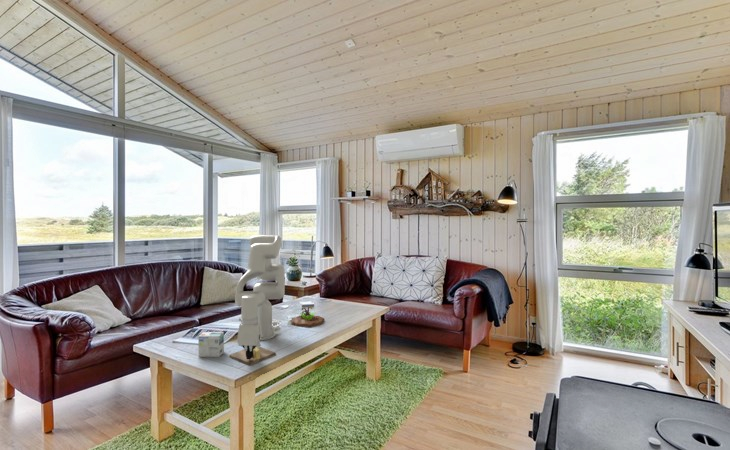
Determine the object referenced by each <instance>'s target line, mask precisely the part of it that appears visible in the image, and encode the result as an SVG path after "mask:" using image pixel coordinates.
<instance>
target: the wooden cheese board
mask: <svg viewBox="0 0 730 450" xmlns="http://www.w3.org/2000/svg"><path fill="white" fill-rule="evenodd" d="M249 347H250V346H249ZM259 350H260V359H257V360H255V358H254V357H252V358H251V359H247V357H246V351H245V349H244V348H243V349H241V350H238V351H236V352H235V351H234V352H233V353H230V354H229V358H231V359H234V360H236V361H238V362H240V363H242V362H243V364H245V365H247V366H251V364H252V365H253V364H256V363H259V362H261V361H265V360H267V359H269V358H271V357H274V356H276V353H277V352H276V351H273V350H270V349H267V348H264V347H261V346H260V347H259Z"/></svg>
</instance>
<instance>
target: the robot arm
mask: <svg viewBox="0 0 730 450" xmlns="http://www.w3.org/2000/svg"><path fill="white" fill-rule="evenodd" d="M282 242H283V241H282V237H281V235H278V234H253V235H251V236H250V237H249V244H250V247H249V248H250V249H249V255H248V256H249V257H248V263H247V271H246V272H245V273H244V274H243V275H242V276H241V277H240V279H239V280H238V282H237V284H236V286H235V287H236V288H235V294H234V295H235V296H234V302H235V306H237V307H240V308H241V309H240V310H241V313H240V316H241V317H239V318H238V321H239V322H240V323H239V325H238V326H239V327H238V331H237V345H238V346H239V347H242V348H243V350H244V349H245V351H246V357H247V359H251V358H252V357H253V349H254V348H257V347H261V341H267V340H270V339H273V338H274V337H275V336H276V335H275V331H277V330H279V326H273V305H272V303H271V302H270V301H269V300H281V299H283V298H284V296H285V293H286V292H285V288H286V286H285V285H286V283H285V282H286V281H285V279H286V277H285V267H284V265H283V264H281V263H272V260H274V259H277V258H278V256H279V253H280V251H281V247H282ZM255 278H256V279H258V280H259V281H261V282H258V283H255V284H254V286H253V288H252V289H253V290H252V291H251V290H250V291H249V290H247V291H244V287H245V286H246V284H247V283H248V282H249V281H251V280H254V279H255ZM263 281H264V282H263ZM265 281H267V282H265ZM269 281H275V282H269ZM249 346H250V347H249Z"/></svg>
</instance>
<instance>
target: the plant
mask: <svg viewBox="0 0 730 450" xmlns="http://www.w3.org/2000/svg"><path fill="white" fill-rule="evenodd" d="M310 310H313V306H311V305H309V306H308V308H307V309H306V308H305V307H302V308H301V313H300V315H297V316H296V317H294V318H292V319H291V325H292V326H296V327H298V328H299V327H301V328H313V327H318V326H321V325H323V323H324V322H325V318H324V317H322V316H320V315H315V314H316V312H313V313H312V312H311V311H310Z"/></svg>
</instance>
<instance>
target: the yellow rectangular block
mask: <svg viewBox="0 0 730 450" xmlns="http://www.w3.org/2000/svg"><path fill="white" fill-rule="evenodd" d="M253 357H254V358H255V360H257V359H260V350H259V347H257V348H254V349H253Z"/></svg>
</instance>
